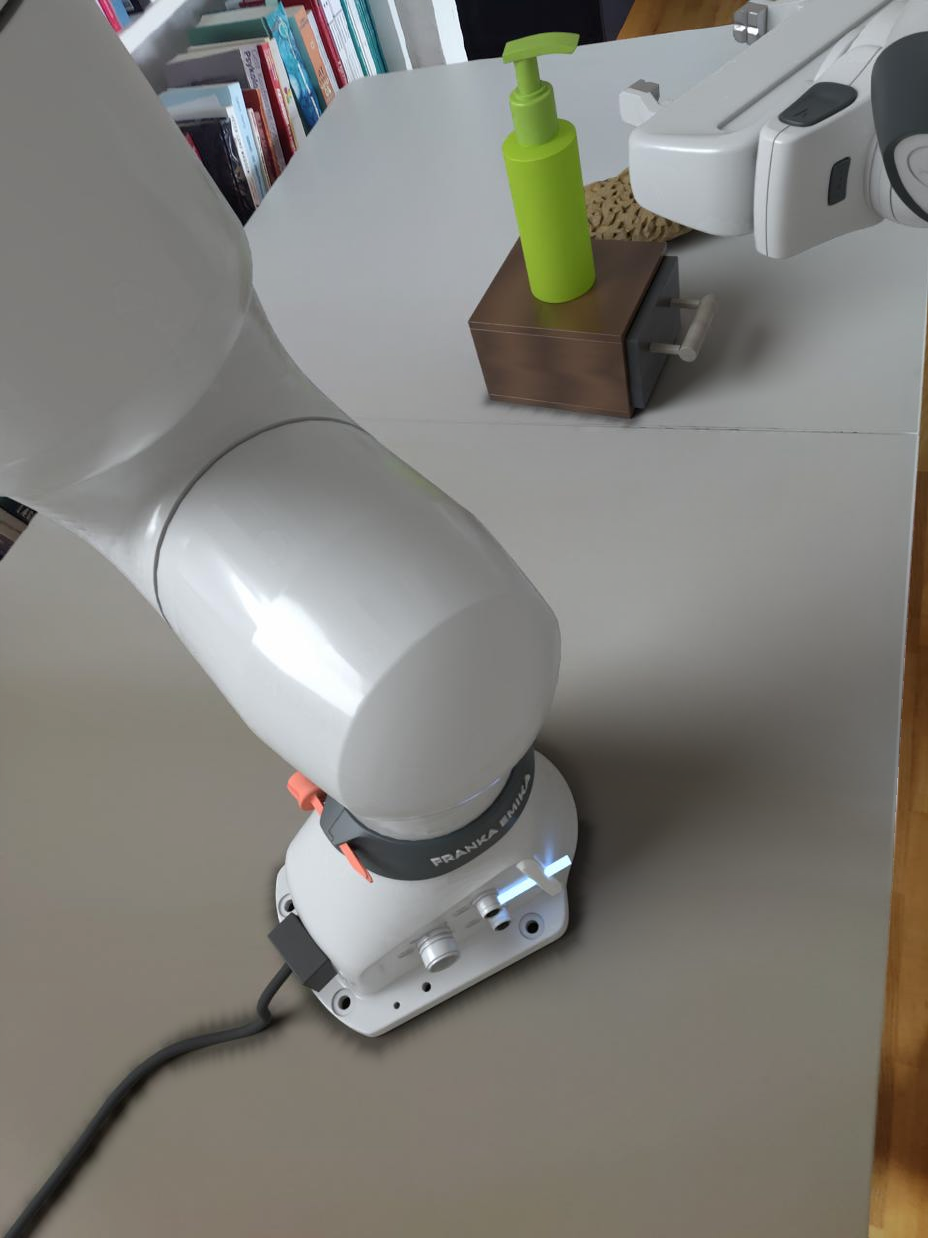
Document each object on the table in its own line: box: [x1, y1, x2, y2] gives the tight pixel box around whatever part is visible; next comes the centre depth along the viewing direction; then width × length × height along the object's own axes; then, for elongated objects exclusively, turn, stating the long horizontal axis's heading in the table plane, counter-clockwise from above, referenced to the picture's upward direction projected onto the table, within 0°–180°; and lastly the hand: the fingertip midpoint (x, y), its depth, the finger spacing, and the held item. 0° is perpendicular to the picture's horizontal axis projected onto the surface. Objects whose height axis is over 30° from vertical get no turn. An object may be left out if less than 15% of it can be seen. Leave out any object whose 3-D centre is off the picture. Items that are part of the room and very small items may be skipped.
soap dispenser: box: [501, 31, 595, 303], centre depth 69 cm, size 6×7×20 cm
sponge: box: [583, 166, 694, 242], centre depth 91 cm, size 13×8×20 cm
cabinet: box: [467, 235, 668, 420], centre depth 81 cm, size 15×13×10 cm
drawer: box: [625, 255, 720, 409], centre depth 79 cm, size 18×11×8 cm, turn 65°
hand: (685, 58), depth 50 cm, fingers open, 8 cm apart
